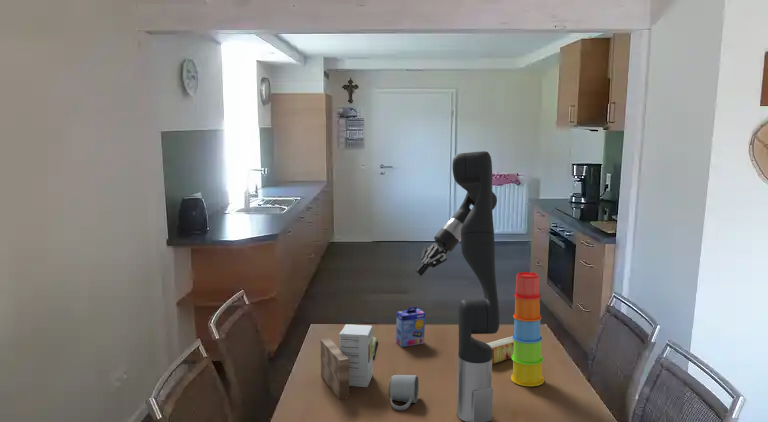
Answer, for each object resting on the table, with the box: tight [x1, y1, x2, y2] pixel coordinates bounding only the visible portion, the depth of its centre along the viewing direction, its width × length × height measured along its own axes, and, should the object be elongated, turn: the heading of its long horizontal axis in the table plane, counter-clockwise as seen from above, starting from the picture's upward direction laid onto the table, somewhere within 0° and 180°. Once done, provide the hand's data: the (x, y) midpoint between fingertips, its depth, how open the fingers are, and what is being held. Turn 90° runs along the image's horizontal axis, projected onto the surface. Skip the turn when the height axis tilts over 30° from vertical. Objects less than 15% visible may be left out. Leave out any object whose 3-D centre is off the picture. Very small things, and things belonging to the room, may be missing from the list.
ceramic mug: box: [387, 374, 420, 411], centre depth 164 cm, size 11×8×8 cm
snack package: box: [485, 335, 514, 365], centre depth 196 cm, size 21×7×7 cm, turn 125°
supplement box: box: [338, 324, 374, 388], centre depth 177 cm, size 10×9×17 cm
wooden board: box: [319, 338, 350, 400], centre depth 174 cm, size 18×3×12 cm, turn 24°
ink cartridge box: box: [395, 306, 426, 348], centre depth 209 cm, size 10×6×14 cm, turn 115°
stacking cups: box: [510, 271, 545, 387], centre depth 176 cm, size 10×10×35 cm
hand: (418, 273), depth 185 cm, fingers closed
